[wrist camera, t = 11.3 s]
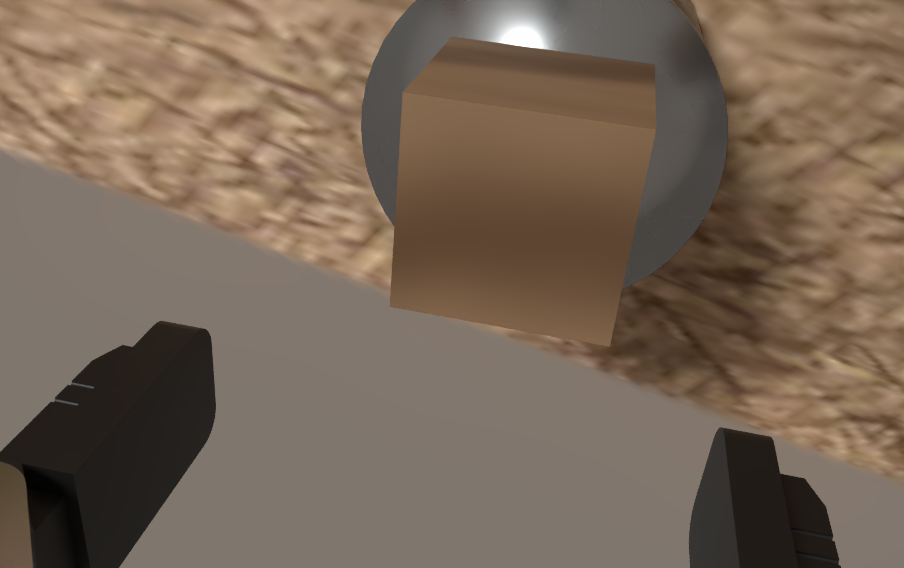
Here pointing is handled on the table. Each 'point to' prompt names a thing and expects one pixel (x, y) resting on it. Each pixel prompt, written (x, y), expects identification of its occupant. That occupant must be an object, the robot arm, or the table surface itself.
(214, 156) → the table surface
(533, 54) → the walnut block
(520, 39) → the metal tin
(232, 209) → the table surface
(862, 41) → the table surface
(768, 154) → the table surface
